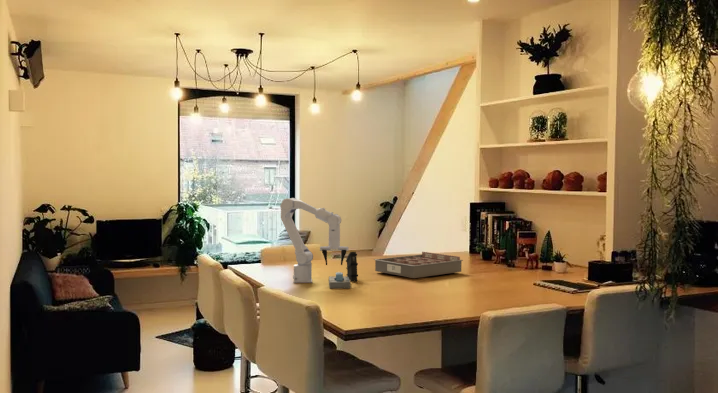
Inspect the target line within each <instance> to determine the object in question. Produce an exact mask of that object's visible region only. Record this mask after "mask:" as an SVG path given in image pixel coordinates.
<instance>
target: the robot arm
mask: <svg viewBox="0 0 718 393" xmlns="http://www.w3.org/2000/svg"><path fill="white" fill-rule="evenodd" d="M279 206H280V220H281V221H282V225H283V227H284V228H285V230H286V232H287V234H288V236H289V238H290V241H291V244H292V245H293V247H294V254H295V261H296V262H297V264H293V275H292V279H293V283H295V284H296V283H297V284H298V283H308V284H309V283H313V279H312V273H313V272H312V270H313V269H312V268H313V267H312V266H313V264H312V261H313V260H314V254H313V252H312V251H310V249H309V247H308V246H307V245H305V243H304V241H303V239H302V237H301V235H300V233H299V230H298V229H297V226H296V224H295V222H294V220H293V216H294V213H295V212H296V210H298V209H300V210H303V211H305V212H308V213H310V214H313V215H314V216H315V218H316V219H318V220H319V221H322V222H325V223H326V224H328V245H327V246H319V251H321V253H322V256H323V258H324V262H325V266H328V251H331V252H333V251H335V252H337V251H339V252H340V253H341V255H340V266H343V263H344V259H345V257H346V254H347V252H349V249H350V248H349V246H341V223H342V217H341V216H340V215H339V214H338V213H335V214H334V212H332V211H329V210H326V208H325V207H319V208H316V207H315V206H313V205H312V204H309V203H307V202H305V201H303V200H301V199H299V198H295V197H291V198H284V199H283V200H282V202H281V203H280V205H279Z"/></svg>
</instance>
